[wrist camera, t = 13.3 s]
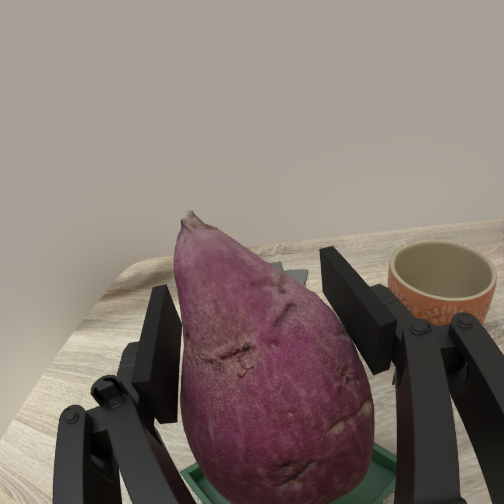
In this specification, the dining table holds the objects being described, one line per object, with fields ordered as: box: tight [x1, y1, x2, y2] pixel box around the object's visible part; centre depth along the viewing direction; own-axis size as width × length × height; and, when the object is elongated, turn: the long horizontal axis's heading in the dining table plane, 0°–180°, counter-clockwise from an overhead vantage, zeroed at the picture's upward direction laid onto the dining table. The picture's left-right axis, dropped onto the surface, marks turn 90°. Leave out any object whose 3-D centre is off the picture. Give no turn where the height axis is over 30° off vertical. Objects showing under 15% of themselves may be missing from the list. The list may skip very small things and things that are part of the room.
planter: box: [388, 239, 497, 325], centre depth 28 cm, size 12×12×11 cm
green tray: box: [180, 442, 397, 504], centre depth 19 cm, size 14×14×3 cm
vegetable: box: [174, 211, 374, 504], centre depth 13 cm, size 10×10×15 cm
